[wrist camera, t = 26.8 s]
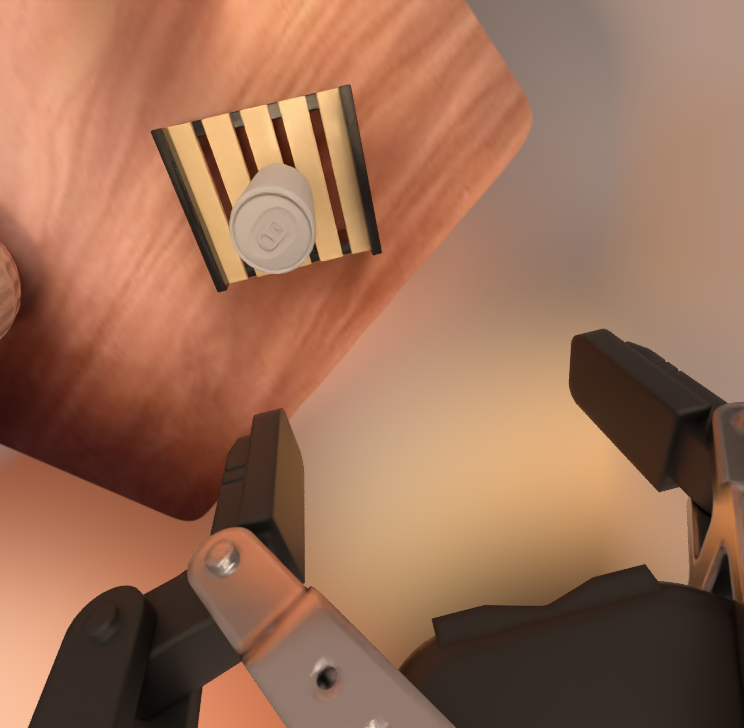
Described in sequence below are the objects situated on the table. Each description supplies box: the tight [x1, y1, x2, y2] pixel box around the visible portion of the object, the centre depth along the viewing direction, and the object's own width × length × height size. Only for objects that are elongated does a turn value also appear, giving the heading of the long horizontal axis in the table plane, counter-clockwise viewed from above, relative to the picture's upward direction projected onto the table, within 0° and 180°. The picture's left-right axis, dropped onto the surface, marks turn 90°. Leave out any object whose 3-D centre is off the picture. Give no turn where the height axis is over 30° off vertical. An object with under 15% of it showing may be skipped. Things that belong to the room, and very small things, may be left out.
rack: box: [151, 85, 382, 292], centre depth 35 cm, size 14×12×7 cm
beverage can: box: [229, 164, 316, 274], centre depth 29 cm, size 5×5×12 cm
